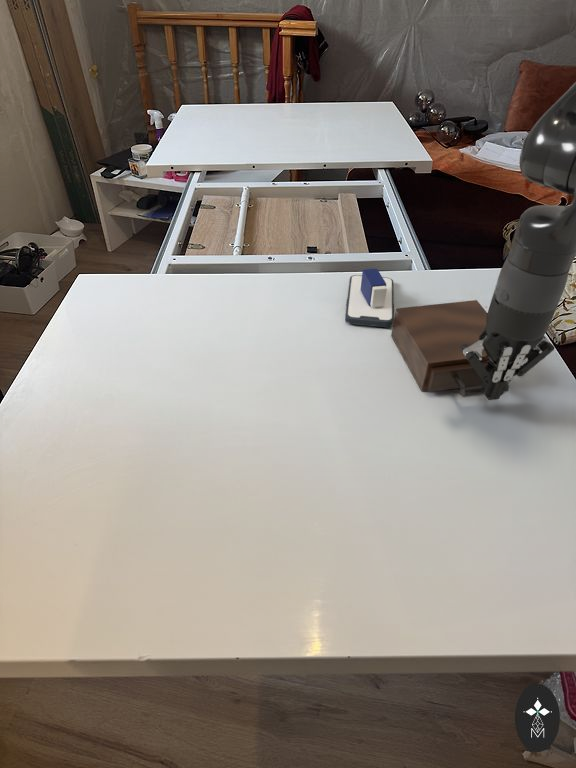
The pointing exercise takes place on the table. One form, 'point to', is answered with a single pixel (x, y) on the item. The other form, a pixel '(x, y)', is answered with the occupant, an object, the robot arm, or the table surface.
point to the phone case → (362, 311)
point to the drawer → (457, 379)
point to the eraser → (373, 287)
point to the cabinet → (437, 335)
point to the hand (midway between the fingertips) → (490, 395)
